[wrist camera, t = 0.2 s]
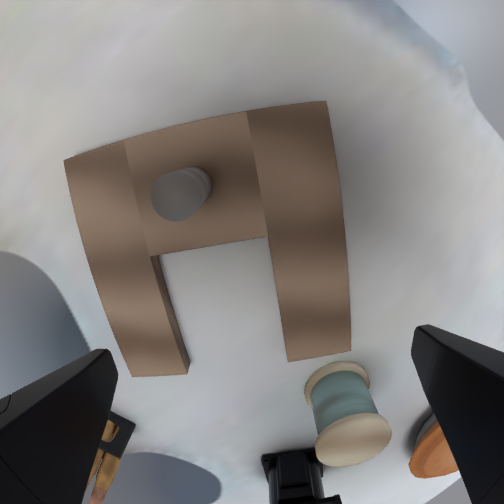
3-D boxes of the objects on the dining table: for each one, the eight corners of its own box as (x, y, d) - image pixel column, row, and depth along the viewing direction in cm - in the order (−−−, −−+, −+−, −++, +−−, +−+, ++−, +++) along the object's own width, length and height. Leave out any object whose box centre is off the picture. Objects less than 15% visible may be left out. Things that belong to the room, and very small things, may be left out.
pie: (391, 471, 32) (401, 499, 27) (412, 394, 27) (431, 427, 22) (482, 436, 31) (496, 458, 26) (516, 355, 26) (538, 377, 22)
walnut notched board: (346, 340, 25) (369, 392, 18) (137, 366, 26) (113, 417, 19) (321, 104, 19) (348, 85, 13) (73, 159, 20) (20, 165, 14)
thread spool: (365, 400, 27) (387, 456, 20) (306, 413, 27) (317, 472, 20) (367, 355, 25) (395, 411, 18) (301, 368, 25) (314, 431, 19)
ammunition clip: (136, 424, 28) (103, 516, 17) (131, 432, 29) (100, 520, 17) (48, 373, 27) (-8, 450, 15) (46, 383, 27) (-6, 458, 16)
